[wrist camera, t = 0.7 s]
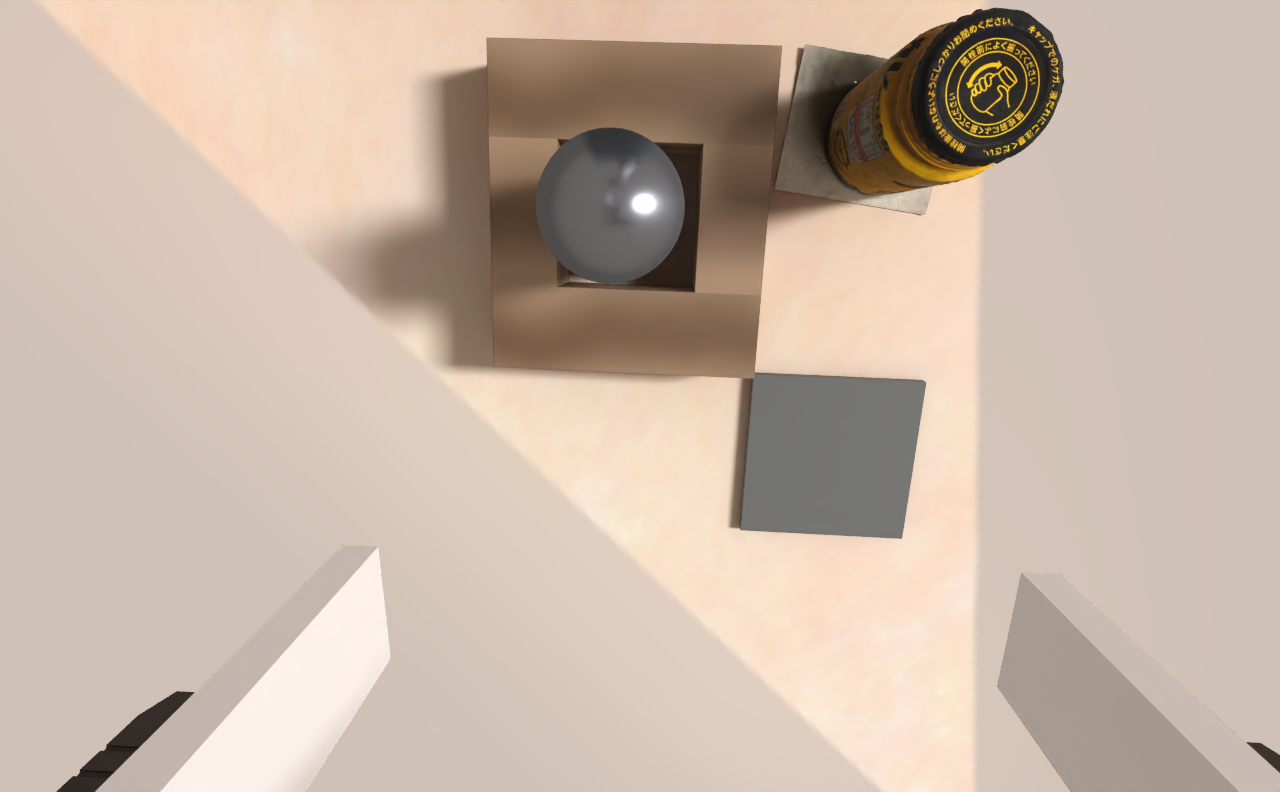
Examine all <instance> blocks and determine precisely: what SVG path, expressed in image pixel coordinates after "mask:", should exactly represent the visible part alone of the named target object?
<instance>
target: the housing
mask: <svg viewBox="0 0 1280 792" xmlns="http://www.w3.org/2000/svg"><path fill="white" fill-rule="evenodd" d="M781 54H782V46H771V45H735V44H699V43H664V42H628V41H592V40H556V39H520V38H487V82H488V127H489V173H490V218H491V263H492V308H493V354H494V367H510V368H532V369H554V370H576V371H598V372H620V373H642V374H664V375H687V376H709V377H731V378H753V379H754V372H755V361H756V349H757V337H758V325H759V313H760V302H761V290H762V278H763V266H764V254H765V243H766V231H767V219H768V207H769V195H770V184H771V172H772V160H773V148H774V136H775V125H776V113H777V101H778V89H779V77H780V66H781ZM608 127H613V128H622V129H626V130H630V131H633V132H636V133H638V134H641V135H643V136H644V137H646V138H648V139H650V140H651V141H652V142H654V143H655V144H656V145H657V146H659V147H660V148H661V149H662V150H663V151H664V152H665V154H695V155H699V173H698V190H697V208H696V225H695V243H694V260H693V278H692V287H683V286H659V285H634V284H609V283H585V282H569V269H567V268H566V267H564V266H563V265H562V264H561V263H560V262H559V261H558V260H557V259H556V258H555V256H554V255H553V254H552V253H551V251H550V250H549V248H548V247H547V245H546V243H545V241H544V239H543V237H542V235H541V232H540V229H539V226H538V221H537V216H536V194H537V189H538V184H539V181H540V178H541V175H542V173H543V170H544V168H545V166H546V165H547V163H548V161H549V160H550V158H551V157H552V156H553V154H554V153H555V152H556V151H557V150H558V149H559V148H560V147H561V146H562V145H563V144H564V143H566V142H567V141H569V140H570V139H571V138H573V137H575V136H577V135H579V134H581V133H583V132H586V131H589V130H592V129H598V128H608Z"/></svg>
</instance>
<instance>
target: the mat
mask: <svg viewBox="0 0 1280 792" xmlns="http://www.w3.org/2000/svg"><path fill="white" fill-rule="evenodd" d="M925 387H926V382H925V381H923V380H909V379H886V378H864V377H842V376H820V375H797V374H775V373H754V379H753V378H752V385H751V397H750V409H749V421H748V433H747V445H746V457H745V469H744V481H743V493H742V504H741V516H740V529H741V530H749V531H767V532H786V533H805V534H824V535H842V536H861V537H880V538H899V539H902V535H903V528H904V522H905V516H906V509H907V503H908V496H909V490H910V483H911V477H912V471H913V464H914V458H915V451H916V445H917V438H918V432H919V426H920V419H921V413H922V406H923V400H924V394H925Z"/></svg>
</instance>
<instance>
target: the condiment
mask: <svg viewBox="0 0 1280 792" xmlns="http://www.w3.org/2000/svg"><path fill="white" fill-rule="evenodd" d="M854 81H857V83H856V84H855V83H854ZM1063 84H1064V78H1063V62H1062V57H1061V54H1060V52H1059V50H1058V47H1057V45H1056V43H1055V41H1054V38H1053V34H1052V33H1051V32H1050V31H1049V30H1048V29H1047V28H1046V27H1044V26H1043V25H1042V24H1041V23H1039V22H1038V21H1037V20H1036V19H1035V18H1033V17H1032V16H1031V15H1029V14H1028V13H1026V12H1024V11H1020V10H1011V9H1004V8H992V9H989V10H982V9H978V10H976V11H974V12H973V13H972V14H971V15H965V16H962V17H960V18H958V19H957V21H956V22H950V23H947V24H943V25H940V26H937V27H935V28H932V29H930V30H928V31H926V32H924V33H923V34H920V35H919V36H918V37H917V38H915V39H914V40H913V41H912V42H910V43H909V44H907V45H906V46H905V47H904V48H902V49H901V50H900V51H899V52H897V53H896V54H895V55H894V56H892V57H890V59H885V58H879V57H875V56H870V55H863V54H856V53H851V52H844V51H838V50H834V49H829V48H825V47H818V46H812V45H806V44H805V47H804V52H803V56H802V62H801V65H800V69H799V74H798V79H797V83H796V88H795V94H794V97H793V102H792V107H791V112H790V117H789V121H788V126H787V131H786V135H785V141H784V147H783V151H782V155H781V160H780V164H779V170H778V175H777V180H776V185H775V190H781V191H787V192H793V193H799V194H805V195H811V196H818V197H823V198H829V199H834V200H840V201H846V202H851V203H857V204H863V205H869V206H875V207H881V208H887V209H893V210H899V211H904V212H910V213H917V214H924V215H925V214H926V210H927V206H928V202H929V199H930V195H931V190H932V187H933V186H935V185H943V184H949V183H951V182H958V181H960V180H963V179H966V178H970V177H973V176H975V175H977V174H979V173H981V172H983V171H984V170H986V169H987V168H989V167H990V166H992V165H994V164H995V163H996V164H997V163H999V162H1001V161H1003V160H1005V159H1006V158H1009V157H1012V156H1014V155H1016V154H1017V153H1019V152H1021V151H1022V150H1024V149H1025V148H1026V147H1027V146H1029V145H1030V144H1031V143H1032V142H1033V141H1034V140H1035V139H1036V138H1037V137H1038V136H1039V135H1040V134H1041V132H1042V131H1043V130H1044V129H1045V127H1046V126H1047V125H1048V123H1049V121H1050V120H1051V118H1052V116H1053V113H1054V111H1055V109H1056V106H1057V103H1058V101H1059V98H1060V96H1061V93H1062V87H1063ZM817 151H818V152H819V153H820V154H821V157H818V156H817V154H816V153H817ZM822 158H825V160H826V162H825V163H824V162H823V161H822Z"/></svg>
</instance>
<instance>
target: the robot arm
mask: <svg viewBox="0 0 1280 792" xmlns="http://www.w3.org/2000/svg"><path fill="white" fill-rule="evenodd" d="M390 658H391V657H390V648H389V639H388V630H387V621H386V612H385V604H384V595H383V586H382V578H381V568H380V560H379V551H378V547H367V546H341V547H340V548H339V549H338V550H337V551H336V552H335V553H334V554H333V555H332V556H331V557H330V558H329V559H328V560H327V561H326V562H325V563H324V564H323V565H322V566H321V567H320V568H319V569H318V570H317V571H316V572H315V573H314V574H313V575H312V576H311V577H310V578H309V579H308V580H307V581H306V582H305V583H304V584H303V585H302V586H301V587H300V588H299V589H298V590H297V591H296V592H295V593H294V594H293V595H292V596H291V597H290V598H289V599H288V600H287V601H286V602H285V603H284V604H283V605H282V606H281V607H280V608H279V609H278V610H277V611H276V612H275V613H274V614H273V615H272V616H271V617H270V618H269V619H268V620H267V621H266V622H265V623H264V624H263V625H262V626H261V627H260V628H259V629H258V630H257V631H256V632H255V633H254V634H253V635H252V636H251V637H250V638H249V639H248V640H247V641H246V642H245V643H244V644H243V645H242V646H241V647H240V648H239V649H238V650H237V651H236V652H235V653H234V654H233V655H232V656H231V657H230V658H229V659H228V660H227V661H226V662H225V663H224V664H223V665H222V666H221V667H220V668H219V669H218V670H217V671H216V672H215V673H214V674H213V675H212V676H211V677H210V678H209V679H208V680H207V681H206V682H205V683H204V684H203V685H202V686H201V687H200V688H199V689H198V690H197V691H196V692H179V691H177V692H175V693H174V694H172V695H170V696H169V697H167V698H166V699H164V700H162V701H161V702H159V703H157V704H156V705H154V706H153V707H151V708H150V709H148V710H146V711H145V712H143V713H141V714H140V715H138V716H137V717H136V718H135V719H134V720H133V721H132V722H131V723H130V724H128V725H127V726H126V727H125V728H124V729H123V730H122V731H121V732H120V733H119V734H118V735H117V736H116V737H115V738H113V739H112V740H111V741H110V742H109V743H108V744H107V747H106V749H105V750H104V751H100V752H98V753H97V754H96V755H95V756H94V757H93V758H92V759H91V760H90V761H89V762H88V763H87V764H86V765H85V766H84V767H82V769H80V773H79V775H78V776H76V777H75V776H73V777H72V778H71V779H70V780H68V782H66V783H65V784H64V785H63V786H62V787H61V788H60V789H59V790H58V791H57V792H306V790H307V789H308V787H309V786H310V784H311V783H312V781H313V780H314V778H315V776H316V775H317V773H318V772H319V770H320V769H321V767H322V765H323V764H324V762H325V761H326V759H327V758H328V756H329V754H330V753H331V751H332V750H333V748H334V746H335V745H336V743H337V742H338V740H339V739H340V737H341V735H342V734H343V732H344V731H345V729H346V728H347V726H348V725H349V723H350V721H351V720H352V718H353V717H354V715H355V714H356V712H357V710H358V709H359V707H360V706H361V704H362V702H363V701H364V699H365V698H366V696H367V695H368V693H369V691H370V690H371V688H372V686H373V685H374V684H375V682H376V681H377V679H378V677H379V676H380V674H381V673H382V671H383V669H384V668H385V666H386V665H387V663H388V661H389V660H390ZM997 687H998V688H999V690H1000V691H1001V693H1002V694H1003V696H1004V697H1005V699H1006V700H1007V701H1008V703H1009V704H1010V706H1011V707H1012V709H1013V710H1014V711H1015V713H1016V714H1017V716H1018V717H1019V719H1020V720H1021V721H1022V723H1023V724H1024V726H1025V727H1026V729H1027V730H1028V731H1029V733H1030V734H1031V736H1032V737H1033V739H1034V740H1035V741H1036V743H1037V744H1038V746H1039V747H1040V749H1041V750H1042V751H1043V753H1044V754H1045V756H1046V757H1047V759H1048V760H1049V761H1050V763H1051V764H1052V766H1053V767H1054V769H1055V770H1056V772H1057V773H1058V774H1059V776H1060V777H1061V779H1062V780H1063V782H1064V783H1065V784H1066V786H1067V787H1068V789H1069V790H1070V792H1280V755H1278V754H1277V753H1276V752H1274V751H1272V750H1271V749H1269V748H1267V747H1266V746H1264V745H1263V744H1261V743H1250V742H1245V741H1244V740H1243V739H1242V738H1241V737H1240V736H1238V735H1237V734H1236V733H1235V732H1234V731H1233V730H1232V729H1231V728H1230V727H1228V726H1227V725H1226V724H1225V723H1224V722H1223V721H1222V720H1221V719H1220V718H1219V717H1217V716H1216V715H1215V714H1214V713H1213V712H1212V711H1211V710H1210V709H1209V708H1207V706H1205V705H1204V704H1203V703H1202V702H1201V701H1200V700H1199V699H1198V698H1197V697H1196V696H1194V695H1193V694H1192V693H1191V692H1190V691H1189V690H1188V689H1187V688H1186V687H1185V686H1184V685H1182V684H1181V683H1180V682H1179V681H1178V680H1177V679H1176V678H1175V677H1174V676H1172V675H1171V674H1170V673H1169V672H1168V671H1167V670H1166V669H1165V668H1164V667H1163V666H1162V665H1160V664H1159V663H1158V662H1157V661H1156V660H1155V659H1154V658H1153V657H1152V656H1151V655H1149V654H1148V653H1147V652H1146V651H1145V650H1144V649H1143V648H1142V647H1141V646H1140V645H1138V644H1137V643H1136V642H1135V641H1134V640H1133V639H1132V638H1131V637H1130V636H1128V635H1127V634H1126V633H1125V632H1124V631H1123V630H1122V629H1121V628H1120V627H1119V626H1118V625H1116V624H1115V623H1114V622H1113V621H1112V620H1111V619H1110V618H1109V617H1108V616H1106V615H1105V614H1104V613H1103V612H1102V611H1101V610H1100V609H1099V608H1098V607H1097V606H1096V605H1094V604H1093V603H1092V602H1091V601H1090V600H1089V599H1088V598H1087V597H1086V596H1085V595H1083V594H1082V593H1081V592H1080V591H1079V590H1078V589H1077V588H1076V587H1075V586H1073V585H1072V584H1071V583H1070V582H1069V581H1068V580H1067V579H1066V578H1065V577H1064V576H1063V575H1061V574H1052V573H1028V572H1021V577H1020V581H1019V586H1018V591H1017V595H1016V600H1015V605H1014V609H1013V614H1012V619H1011V624H1010V629H1009V633H1008V638H1007V642H1006V648H1005V652H1004V656H1003V661H1002V666H1001V671H1000V675H999V680H998V685H997Z"/></svg>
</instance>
